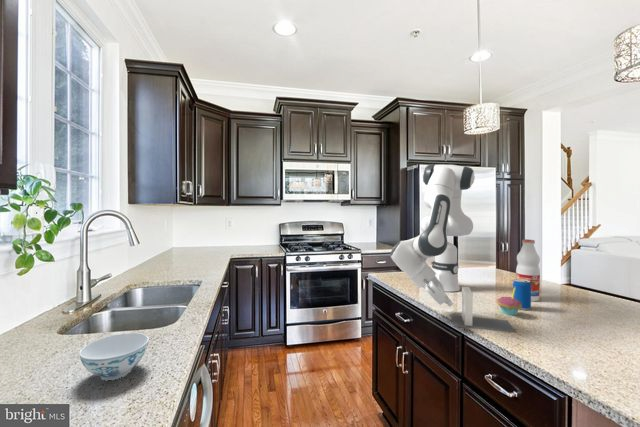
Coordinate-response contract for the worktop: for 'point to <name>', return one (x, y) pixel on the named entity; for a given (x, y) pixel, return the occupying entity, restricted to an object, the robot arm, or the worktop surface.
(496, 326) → the mat
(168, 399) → the worktop surface
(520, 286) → the beverage can
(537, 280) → the fruit juice
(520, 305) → the cupcake
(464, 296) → the tile
